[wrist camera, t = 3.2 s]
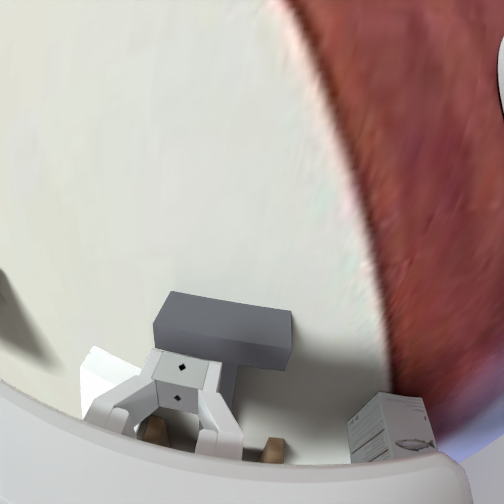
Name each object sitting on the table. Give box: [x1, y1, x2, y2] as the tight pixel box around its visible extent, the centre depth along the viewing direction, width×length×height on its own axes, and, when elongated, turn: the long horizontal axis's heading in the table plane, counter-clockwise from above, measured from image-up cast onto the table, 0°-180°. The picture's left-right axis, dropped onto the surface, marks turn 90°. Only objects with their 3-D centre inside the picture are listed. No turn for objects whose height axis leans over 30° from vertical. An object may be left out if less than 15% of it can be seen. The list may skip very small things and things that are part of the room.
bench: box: [142, 415, 284, 464], centre depth 32 cm, size 18×10×8 cm, turn 83°
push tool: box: [153, 291, 292, 431], centre depth 26 cm, size 10×20×4 cm, turn 173°
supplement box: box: [347, 392, 438, 464], centre depth 24 cm, size 7×7×13 cm
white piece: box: [80, 346, 142, 436], centre depth 24 cm, size 35×8×28 cm, turn 156°
